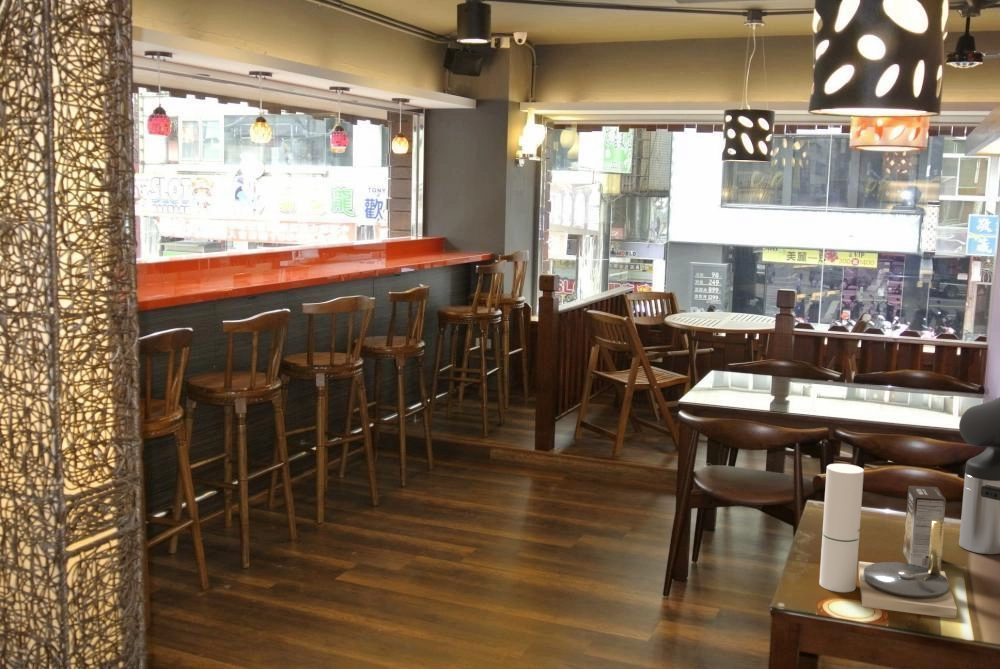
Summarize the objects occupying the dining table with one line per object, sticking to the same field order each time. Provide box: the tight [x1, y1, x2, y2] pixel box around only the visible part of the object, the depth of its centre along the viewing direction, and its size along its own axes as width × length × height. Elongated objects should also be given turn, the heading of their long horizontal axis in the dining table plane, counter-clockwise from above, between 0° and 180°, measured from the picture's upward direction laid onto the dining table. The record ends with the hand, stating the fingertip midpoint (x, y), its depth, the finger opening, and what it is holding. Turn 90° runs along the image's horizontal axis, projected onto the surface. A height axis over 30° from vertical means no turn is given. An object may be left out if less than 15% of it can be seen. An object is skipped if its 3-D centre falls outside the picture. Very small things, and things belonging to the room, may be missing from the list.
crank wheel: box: [863, 520, 949, 598], centre depth 204 cm, size 16×16×12 cm
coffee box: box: [903, 485, 946, 568], centre depth 221 cm, size 9×6×16 cm
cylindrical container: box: [818, 463, 865, 593], centre depth 207 cm, size 7×7×25 cm
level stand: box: [857, 560, 958, 619], centre depth 205 cm, size 20×17×2 cm
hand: (982, 490), depth 198 cm, fingers closed
